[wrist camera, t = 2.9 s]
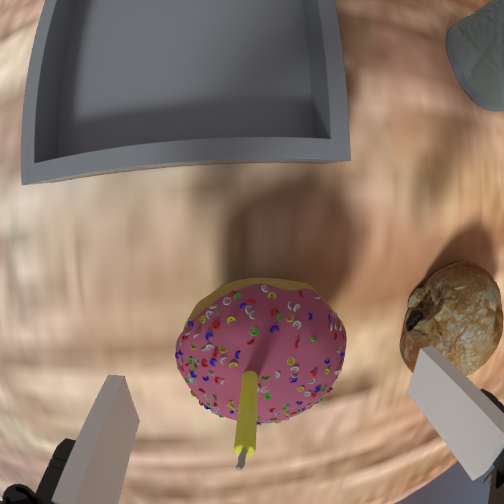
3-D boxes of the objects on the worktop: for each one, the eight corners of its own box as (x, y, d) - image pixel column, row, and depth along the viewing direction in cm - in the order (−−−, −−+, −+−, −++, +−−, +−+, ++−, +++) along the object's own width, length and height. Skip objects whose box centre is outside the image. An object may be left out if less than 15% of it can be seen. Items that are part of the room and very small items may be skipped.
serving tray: (52, 182, 15) (21, 185, 12) (80, -25, 11) (64, -46, 8) (326, 163, 17) (350, 160, 13) (305, -45, 12) (317, -71, 9)
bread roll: (413, 242, 23) (438, 257, 15) (502, 270, 20) (546, 293, 12) (379, 344, 25) (384, 393, 17) (466, 364, 22) (490, 410, 14)
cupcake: (164, 337, 18) (122, 496, 7) (231, 226, 17) (253, 327, 5) (272, 386, 20) (311, 529, 9) (343, 294, 19) (457, 412, 7)
